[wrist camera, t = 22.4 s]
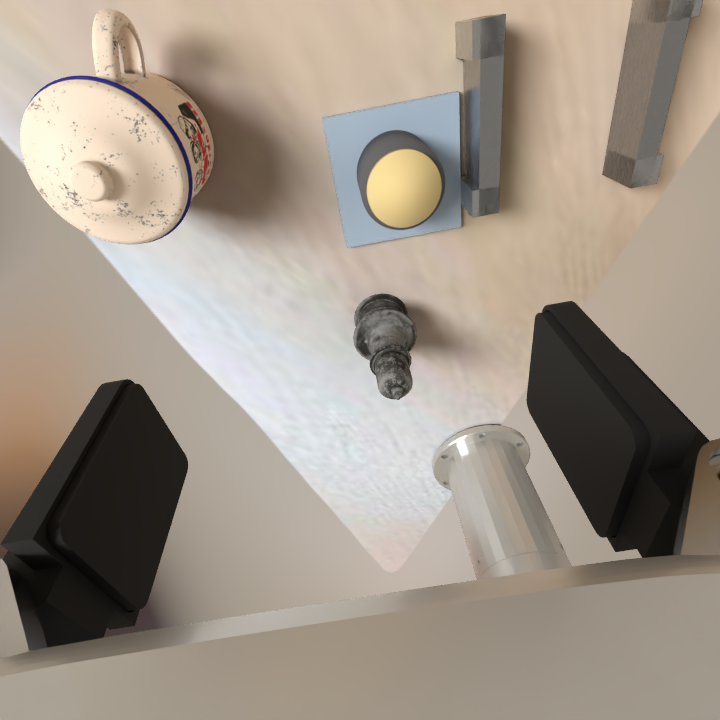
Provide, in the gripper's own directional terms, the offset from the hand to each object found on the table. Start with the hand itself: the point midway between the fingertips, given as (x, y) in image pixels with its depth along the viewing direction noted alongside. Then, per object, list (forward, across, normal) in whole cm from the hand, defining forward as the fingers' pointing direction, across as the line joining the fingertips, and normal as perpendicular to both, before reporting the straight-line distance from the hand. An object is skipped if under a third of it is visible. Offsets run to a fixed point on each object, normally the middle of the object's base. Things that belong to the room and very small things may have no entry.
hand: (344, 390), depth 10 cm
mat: (+28, -5, +3) cm, 29 cm away
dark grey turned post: (+28, -2, +16) cm, 33 cm away
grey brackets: (+28, -17, 0) cm, 33 cm away
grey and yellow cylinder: (+28, -5, +3) cm, 28 cm away
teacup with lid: (+28, +12, -4) cm, 31 cm away
